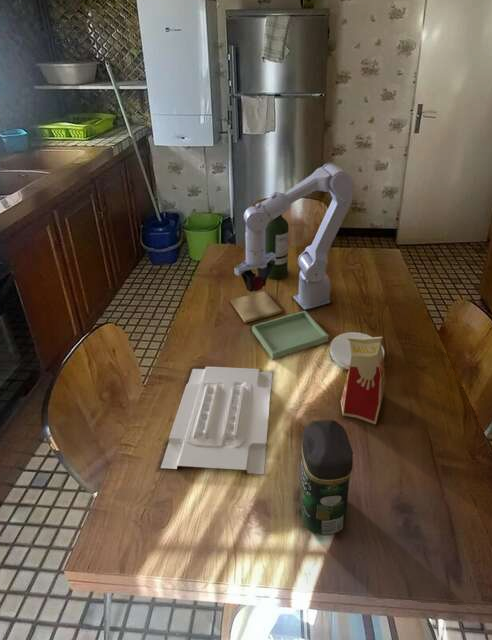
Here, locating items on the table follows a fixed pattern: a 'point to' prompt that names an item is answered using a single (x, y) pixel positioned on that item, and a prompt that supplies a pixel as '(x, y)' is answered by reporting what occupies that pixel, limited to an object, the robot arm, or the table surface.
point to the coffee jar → (325, 476)
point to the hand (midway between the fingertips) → (255, 287)
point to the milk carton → (364, 380)
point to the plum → (257, 283)
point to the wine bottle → (277, 246)
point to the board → (255, 306)
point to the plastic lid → (344, 348)
